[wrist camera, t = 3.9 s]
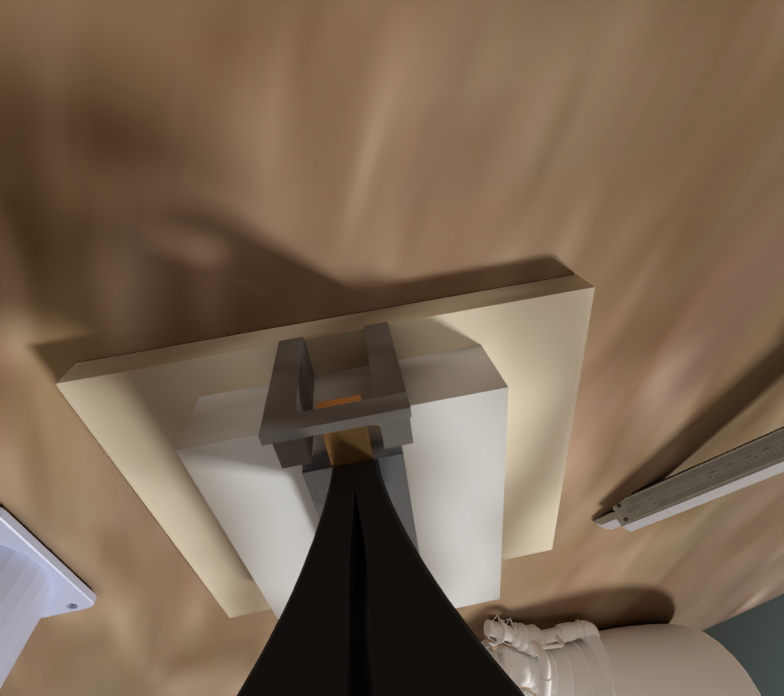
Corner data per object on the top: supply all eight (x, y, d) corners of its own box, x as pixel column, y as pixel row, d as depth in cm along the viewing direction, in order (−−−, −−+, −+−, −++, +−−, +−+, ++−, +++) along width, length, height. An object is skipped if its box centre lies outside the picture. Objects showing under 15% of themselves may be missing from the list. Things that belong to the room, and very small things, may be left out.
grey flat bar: (361, 616, 18) (363, 631, 17) (284, 408, 11) (282, 423, 10) (426, 602, 18) (429, 617, 17) (392, 388, 11) (395, 402, 10)
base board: (234, 594, 22) (208, 727, 17) (73, 360, 13) (-66, 497, 9) (542, 530, 23) (597, 639, 18) (576, 271, 14) (698, 352, 10)
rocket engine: (487, 842, 20) (777, 909, 22) (535, 603, 23) (790, 679, 25) (429, 694, 31) (624, 746, 33) (466, 544, 34) (645, 600, 36)
